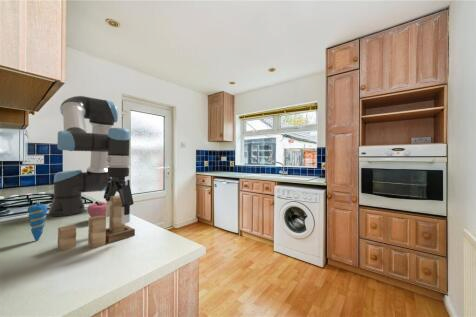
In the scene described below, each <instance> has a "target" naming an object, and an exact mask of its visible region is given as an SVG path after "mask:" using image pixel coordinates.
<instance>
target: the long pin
mask: <svg viewBox="0 0 476 317" xmlns="http://www.w3.org/2000/svg"><path fill="white" fill-rule="evenodd" d="M122 205H123V204H122V201H121V198H120V195H119V194H118V195H115V196H110V216H109V219H108V220H109V221H108V222H109V224H108V225H109V226H108V228H109V233H110V234H114V233H118V232H122V231H124V229H125V225H126V223H124V224H121V212H122V207H121V206H122Z"/></svg>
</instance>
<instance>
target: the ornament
mask: <svg viewBox="0 0 476 317" xmlns="http://www.w3.org/2000/svg"><path fill="white" fill-rule="evenodd" d="M27 213H28V217H27V218H28V220H29V221H30V222H29V225H30V228H31V230H30V231H31V234H32V236H33V238H34V241H35V242H37V241H39V240H40V237H42V235H43V233H44V228H45V221H46V220H47V214H48V207H47V206H46V204H44V203H41V202H40V201H39V200H37V202H36V203H35V204H32V205H30V206H29V207H28V208H27Z"/></svg>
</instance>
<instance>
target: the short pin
mask: <svg viewBox="0 0 476 317" xmlns="http://www.w3.org/2000/svg"><path fill="white" fill-rule="evenodd" d="M76 247H77V226H76V225H74V224H69V225H63V226H58V227H57V249H58V250H60V251H61V252H62V251H66V250H70V249H73V248H76Z"/></svg>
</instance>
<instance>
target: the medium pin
mask: <svg viewBox="0 0 476 317" xmlns="http://www.w3.org/2000/svg"><path fill="white" fill-rule="evenodd" d="M106 229H107V217H105V216H102V215H100V216H94V217H91V216H89V217H88V230H87V231H88V232H87V237H88V239H87V245H88V247H90V248H91V249H93V250H94V249H95V248H96V249H97V248H99V247H102V246H105V245H106V241H105V240H106Z"/></svg>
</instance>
